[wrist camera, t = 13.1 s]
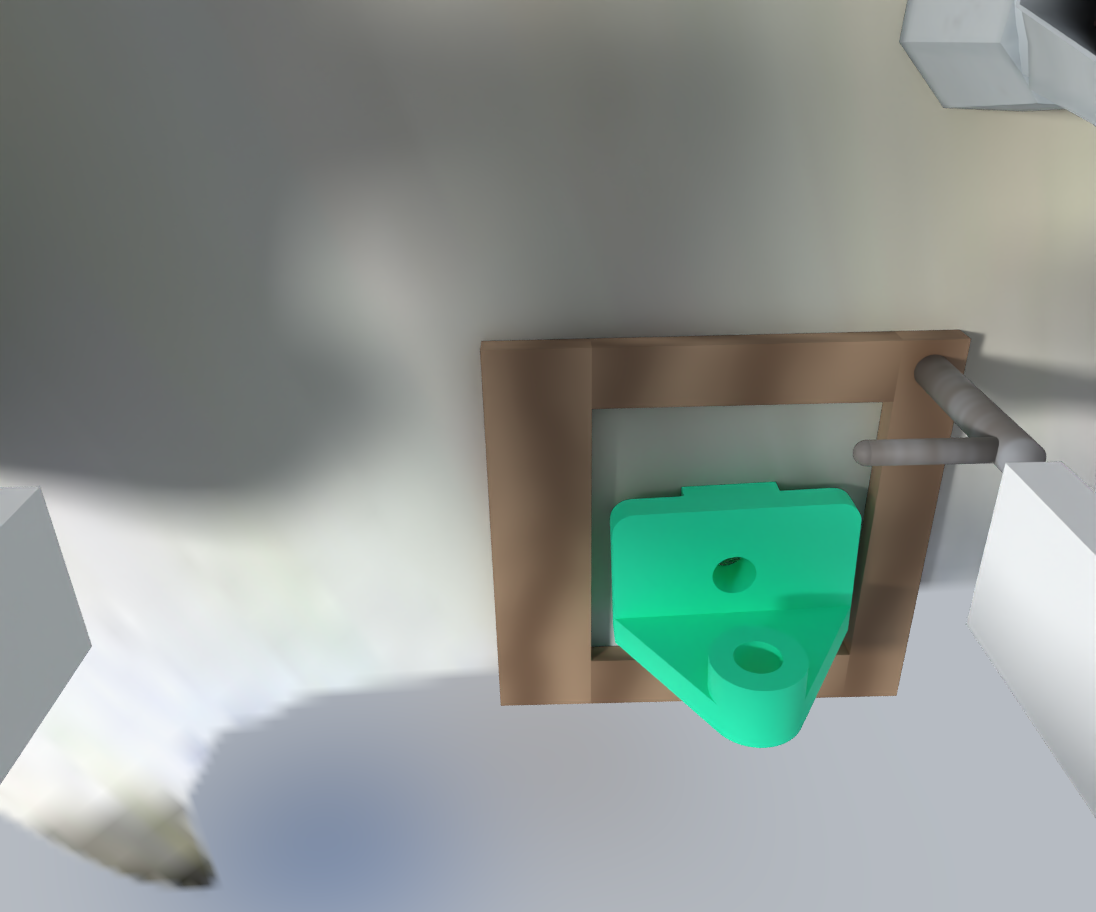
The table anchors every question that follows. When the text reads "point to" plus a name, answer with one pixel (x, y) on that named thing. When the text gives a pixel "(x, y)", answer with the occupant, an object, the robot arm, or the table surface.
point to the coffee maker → (1006, 53)
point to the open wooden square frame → (714, 380)
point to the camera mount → (736, 599)
